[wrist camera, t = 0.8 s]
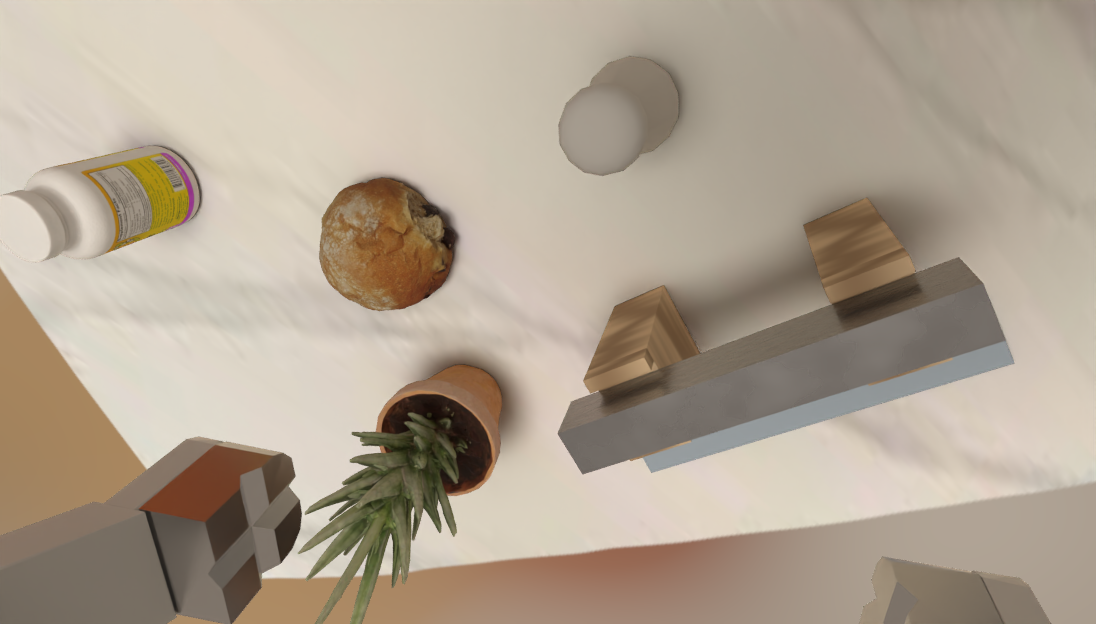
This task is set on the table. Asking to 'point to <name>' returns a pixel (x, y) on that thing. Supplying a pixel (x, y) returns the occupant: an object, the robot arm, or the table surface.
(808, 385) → the bar
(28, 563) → the robot arm
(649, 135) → the salt shaker
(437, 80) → the table surface
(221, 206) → the table surface
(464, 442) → the potted plant
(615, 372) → the stand far
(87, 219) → the supplement bottle
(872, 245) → the stand near
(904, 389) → the grey flat bar
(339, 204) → the bread roll
